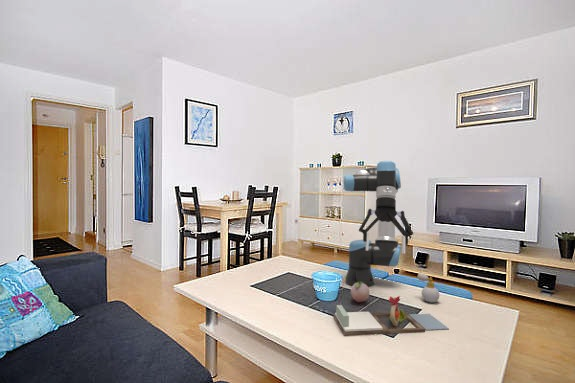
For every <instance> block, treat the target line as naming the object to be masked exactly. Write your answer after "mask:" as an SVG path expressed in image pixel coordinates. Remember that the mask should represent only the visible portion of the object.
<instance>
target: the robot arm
mask: <svg viewBox="0 0 575 383" xmlns="http://www.w3.org/2000/svg"><path fill="white" fill-rule="evenodd" d="M396 166H397V165H396V163H395V162H394V161H392V160H382V161H379V162H378V163H377V164H376V167H369V168H364V169H360V170H357V171H356V172H355V173H354V174H345V175H344V176H343V189H344V191H346V192H375V197H376V199H375V209H372V208H368V209H367V212H366V216H365V218H364V220H363V221H362V223H361V225H360V227H359V228H358V232H360V233H362V239H355V240H352V241H351V242H349V246H348V269H347V273H346V276H345V283H346V284H347V285H348V286H353V285H354V284H355V283H358V282H359V281H360V282H363V284H365V285H367V286H368V288H369V287H372V286H374V284H375V279H374V276H373V272H372V267H371V266H379V267H397V266H398V265H399V263H400V261H399V260H400V257H401V254H402V255H405V254H406V246H408V245H409V237H410V236H412V235H414V232H413V230H412V228H411V226H410V224H409V222H408V220H407V218H406V216H405V211H404V210H401V211H397V210H396V208H397V207H396V206H397V204H396V202H397V200H396V198H397V197H396V196H397V195H396V194H397V193H399V190H400V189H401V188H402V184H401V175H400V170H399V169H398V168H397V167H396ZM373 215H374V216H376V218H375V219H374V220H372V222H370V224H369V225H368V226H367V227H366V228H365V226H366V224H367V222H368V221H369V219H370V218H371V216H373ZM396 216H398V217H399V219H400V221H401V223H402V224H403V226H402V225H401V224H400V222H399V221H398V219H397V218H396ZM376 223H378V224H377V226H378V230H377V231H378V232H377V233H378V235H377V237H376V239H375V242H372V241H371V240H370V233H368V232H369V231H370V230H371V229H372V228H373V227H374V225H375V224H376ZM364 228H365V229H364ZM396 229H397V230H398V231H399V232H400V234H401V235H402V236H401V244H399V241H398V240H397V238H396Z"/></svg>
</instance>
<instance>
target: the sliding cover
mask: <svg viewBox="0 0 575 383" xmlns="http://www.w3.org/2000/svg"><path fill="white" fill-rule="evenodd" d="M335 306H336V312H335V313H334V315H336V317H337V319H338V321H339V322H340V324H341V326H342V327H343V329H344V331H345V332H349V331H371V330H383V328H382V326H381V325H380V324H379V323H378V322H377V321H376V320H375V318H374V317H373V316H372V315H371V314H372V313H371V312H370V311H354V312H353V311H352V312H351V311H349V312H348V311H346V309H345V308H344V307H343V305H342V304H336V305H335Z"/></svg>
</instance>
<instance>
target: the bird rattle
mask: <svg viewBox="0 0 575 383" xmlns="http://www.w3.org/2000/svg"><path fill="white" fill-rule="evenodd" d="M400 298H401V296H400V295H399V296H397V297H392V296H389V298H388V301H389V303H391V306H390V312H389V313H390V317H389V320H390V321H391V324H392V325H393V326H394V327H398V325H399V323H402V322H403V320H407V319H406V316H405V315H404V312H405V311H403V310H400V308H399V305H398V303H399V302H400V301H401V299H400Z"/></svg>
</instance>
